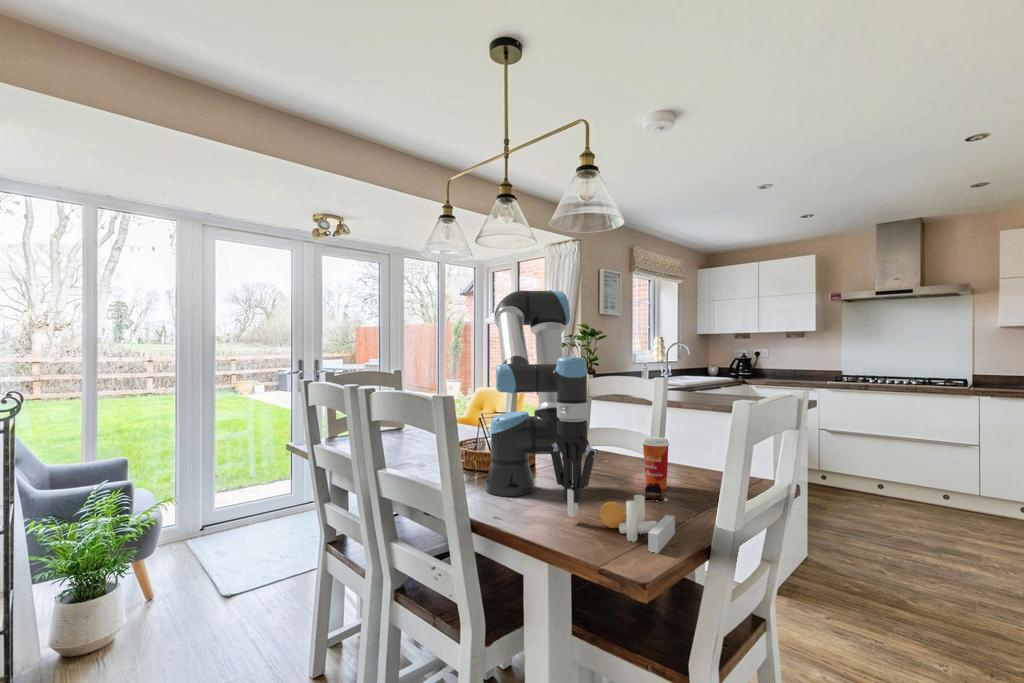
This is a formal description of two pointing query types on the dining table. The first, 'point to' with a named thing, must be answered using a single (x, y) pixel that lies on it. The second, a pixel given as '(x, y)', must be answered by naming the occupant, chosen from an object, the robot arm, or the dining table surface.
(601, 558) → the dining table surface
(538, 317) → the robot arm
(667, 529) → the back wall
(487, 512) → the dining table surface
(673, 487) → the dining table surface
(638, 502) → the pin
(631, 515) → the pin
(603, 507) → the ball
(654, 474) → the coffee cup
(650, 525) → the front pin
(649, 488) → the dark piece
